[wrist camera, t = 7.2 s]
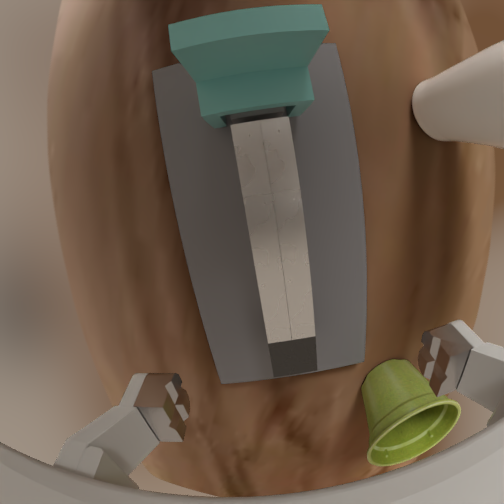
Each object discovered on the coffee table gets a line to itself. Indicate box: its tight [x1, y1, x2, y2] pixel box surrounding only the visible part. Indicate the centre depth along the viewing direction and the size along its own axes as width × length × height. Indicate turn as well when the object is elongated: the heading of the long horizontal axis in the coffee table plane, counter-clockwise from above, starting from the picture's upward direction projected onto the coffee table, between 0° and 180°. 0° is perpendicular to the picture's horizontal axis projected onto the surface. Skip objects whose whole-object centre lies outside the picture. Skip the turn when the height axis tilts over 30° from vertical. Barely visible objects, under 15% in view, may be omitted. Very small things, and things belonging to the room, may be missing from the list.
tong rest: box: [152, 43, 367, 384], centre depth 19 cm, size 26×13×4 cm, turn 10°
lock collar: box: [168, 4, 329, 129], centre depth 12 cm, size 3×6×10 cm, turn 100°
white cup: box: [412, 40, 504, 149], centre depth 11 cm, size 7×7×15 cm
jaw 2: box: [260, 116, 317, 374], centre depth 18 cm, size 16×2×4 cm, turn 10°
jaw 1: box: [230, 120, 296, 377], centre depth 18 cm, size 16×2×4 cm, turn 10°
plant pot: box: [361, 359, 461, 466], centre depth 22 cm, size 9×9×9 cm
